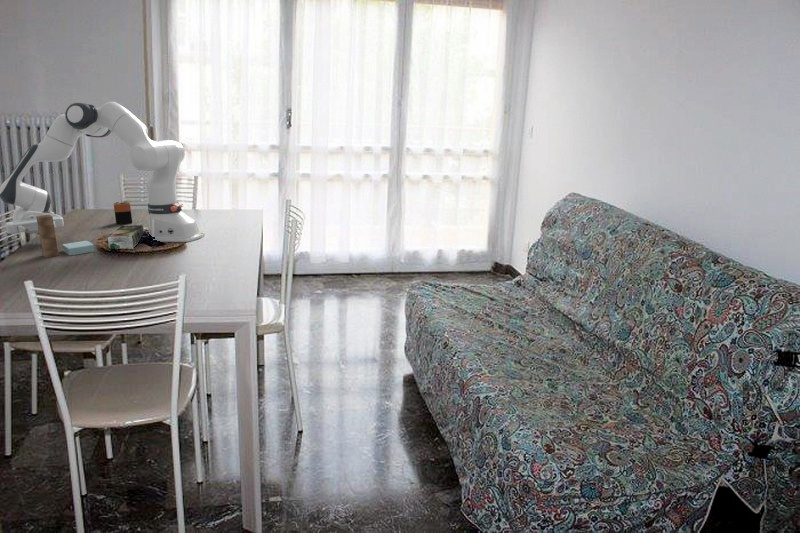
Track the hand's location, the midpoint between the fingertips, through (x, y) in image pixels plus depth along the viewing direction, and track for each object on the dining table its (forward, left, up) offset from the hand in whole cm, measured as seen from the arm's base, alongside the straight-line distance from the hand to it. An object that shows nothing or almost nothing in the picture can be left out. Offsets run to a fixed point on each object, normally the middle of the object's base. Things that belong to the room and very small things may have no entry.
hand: (39, 228), depth 264 cm
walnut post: (-10, +7, -9) cm, 15 cm away
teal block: (-16, -1, -9) cm, 18 cm away
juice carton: (-27, -15, -9) cm, 32 cm away
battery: (-2, -48, -9) cm, 49 cm away
